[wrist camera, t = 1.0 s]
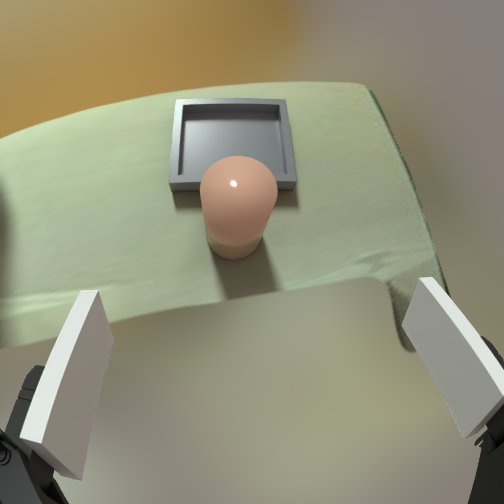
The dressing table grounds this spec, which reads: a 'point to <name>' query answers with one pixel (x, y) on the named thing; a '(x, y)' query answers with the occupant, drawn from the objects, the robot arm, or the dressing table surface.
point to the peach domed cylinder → (237, 204)
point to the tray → (230, 138)
